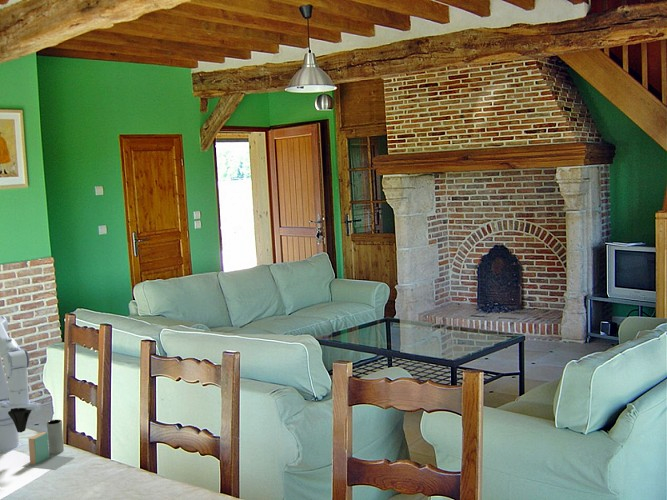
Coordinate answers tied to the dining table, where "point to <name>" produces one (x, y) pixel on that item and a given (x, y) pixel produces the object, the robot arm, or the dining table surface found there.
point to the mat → (51, 462)
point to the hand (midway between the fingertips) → (21, 431)
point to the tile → (38, 447)
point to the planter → (55, 436)
